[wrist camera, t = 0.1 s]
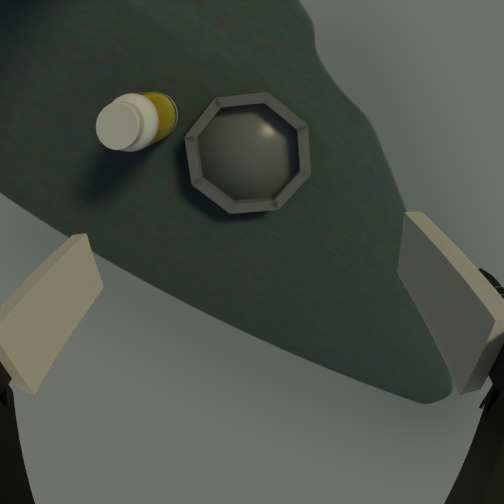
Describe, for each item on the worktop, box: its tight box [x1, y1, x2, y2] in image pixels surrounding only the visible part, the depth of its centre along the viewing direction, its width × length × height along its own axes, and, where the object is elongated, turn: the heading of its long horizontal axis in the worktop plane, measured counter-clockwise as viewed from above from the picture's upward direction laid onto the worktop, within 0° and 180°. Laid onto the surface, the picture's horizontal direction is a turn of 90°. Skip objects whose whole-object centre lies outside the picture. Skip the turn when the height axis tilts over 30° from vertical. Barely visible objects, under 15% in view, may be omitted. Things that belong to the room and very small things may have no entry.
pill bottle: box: [96, 92, 178, 152], centre depth 31 cm, size 6×6×11 cm
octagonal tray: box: [184, 92, 311, 214], centre depth 37 cm, size 14×14×2 cm
